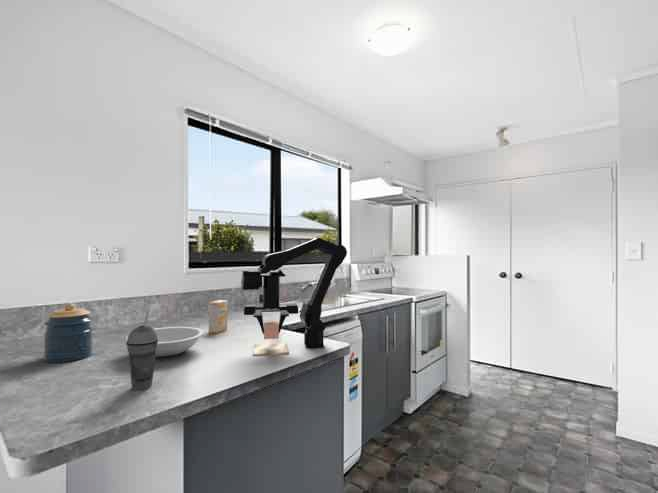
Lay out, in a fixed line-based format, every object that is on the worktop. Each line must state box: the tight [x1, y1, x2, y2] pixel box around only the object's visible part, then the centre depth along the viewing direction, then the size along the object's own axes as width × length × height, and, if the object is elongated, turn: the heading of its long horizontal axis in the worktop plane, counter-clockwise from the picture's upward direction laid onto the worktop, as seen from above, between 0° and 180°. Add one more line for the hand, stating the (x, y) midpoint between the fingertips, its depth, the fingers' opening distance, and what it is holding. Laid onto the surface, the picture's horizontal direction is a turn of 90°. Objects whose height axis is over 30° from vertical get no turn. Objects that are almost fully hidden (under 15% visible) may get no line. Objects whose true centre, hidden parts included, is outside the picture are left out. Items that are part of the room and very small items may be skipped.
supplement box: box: [208, 299, 229, 334], centre depth 153 cm, size 8×5×13 cm, turn 168°
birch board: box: [252, 342, 290, 357], centre depth 125 cm, size 12×12×1 cm
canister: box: [42, 302, 94, 363], centre depth 115 cm, size 13×13×18 cm
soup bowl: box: [125, 326, 205, 357], centre depth 119 cm, size 24×24×7 cm
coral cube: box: [263, 320, 280, 340], centre depth 125 cm, size 5×5×5 cm
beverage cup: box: [125, 308, 158, 391], centre depth 90 cm, size 7×7×20 cm
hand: (271, 333), depth 125 cm, fingers closed on coral cube, 5 cm apart
